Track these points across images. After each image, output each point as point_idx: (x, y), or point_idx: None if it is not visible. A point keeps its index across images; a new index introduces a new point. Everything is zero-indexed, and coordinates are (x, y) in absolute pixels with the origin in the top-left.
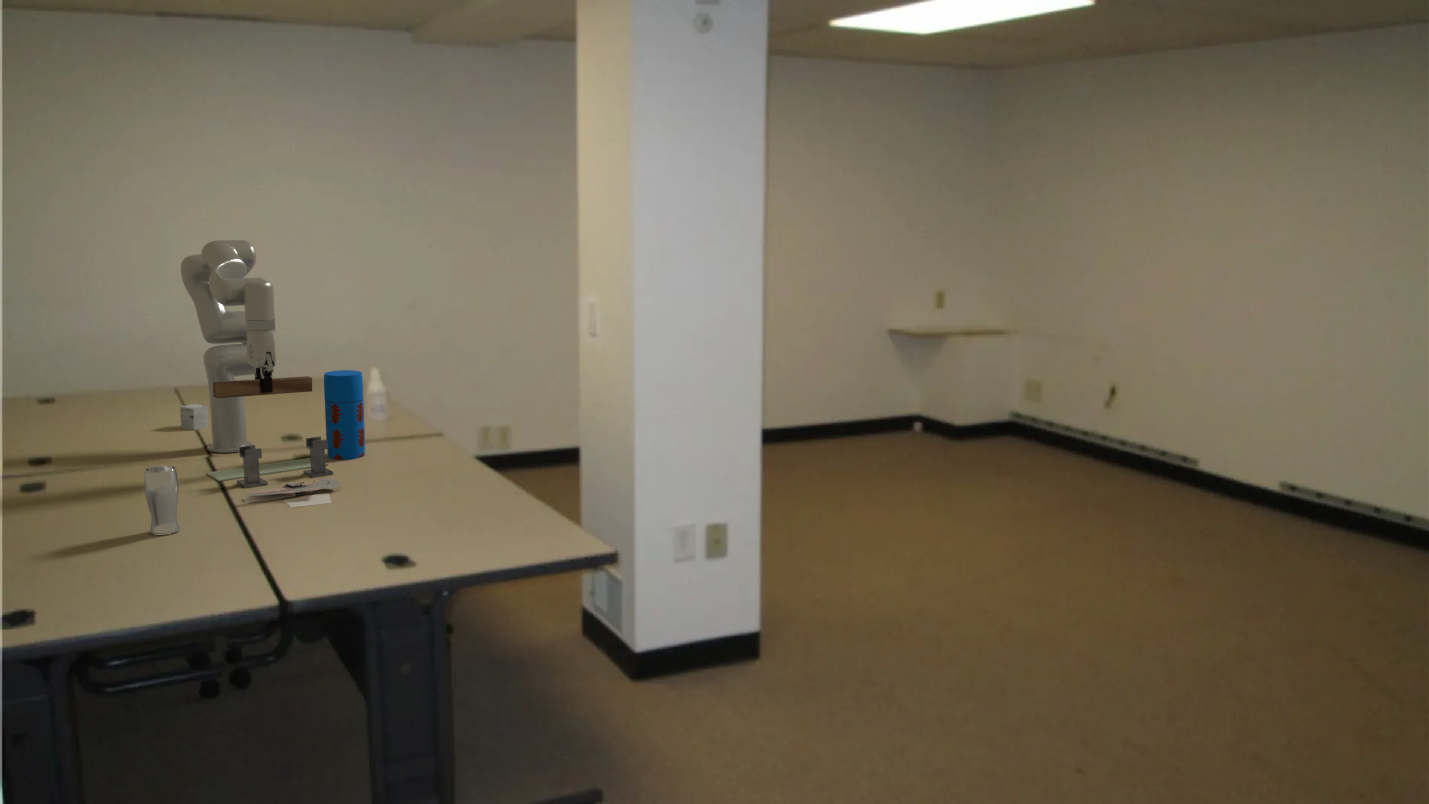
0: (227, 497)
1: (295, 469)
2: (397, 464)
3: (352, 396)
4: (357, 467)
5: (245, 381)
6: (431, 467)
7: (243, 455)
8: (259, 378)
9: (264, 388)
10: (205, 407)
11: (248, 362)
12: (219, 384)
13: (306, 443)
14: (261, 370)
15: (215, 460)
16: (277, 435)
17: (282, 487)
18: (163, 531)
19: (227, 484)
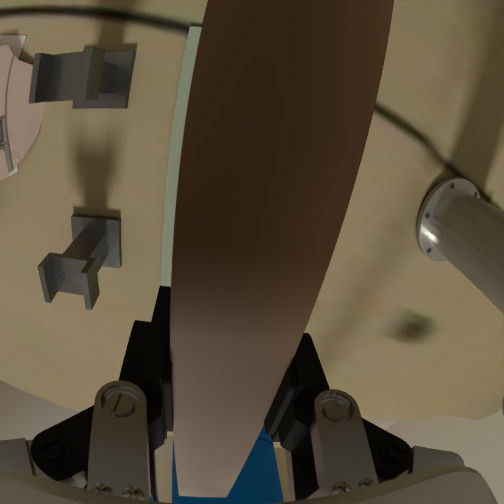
0: (48, 9)
1: (164, 220)
2: (98, 363)
3: (172, 466)
4: (110, 317)
5: (213, 228)
6: (60, 376)
7: (80, 56)
8: (279, 393)
9: (139, 324)
10: None
11: (438, 498)
12: None
13: (90, 264)
14: (98, 469)
15: (399, 137)
16: (442, 318)
17: (2, 117)
18: None
19: (147, 32)
